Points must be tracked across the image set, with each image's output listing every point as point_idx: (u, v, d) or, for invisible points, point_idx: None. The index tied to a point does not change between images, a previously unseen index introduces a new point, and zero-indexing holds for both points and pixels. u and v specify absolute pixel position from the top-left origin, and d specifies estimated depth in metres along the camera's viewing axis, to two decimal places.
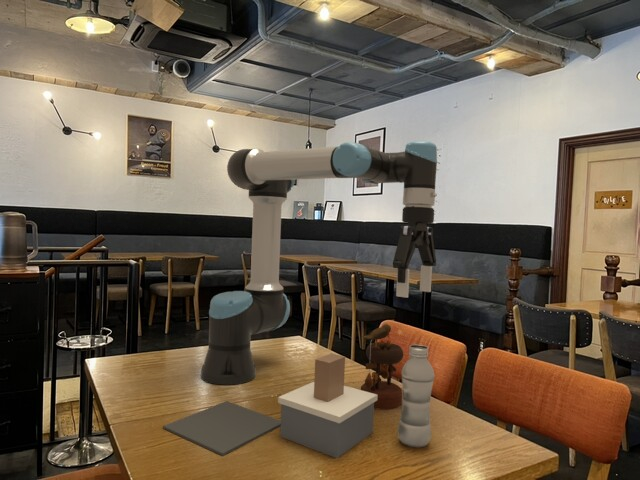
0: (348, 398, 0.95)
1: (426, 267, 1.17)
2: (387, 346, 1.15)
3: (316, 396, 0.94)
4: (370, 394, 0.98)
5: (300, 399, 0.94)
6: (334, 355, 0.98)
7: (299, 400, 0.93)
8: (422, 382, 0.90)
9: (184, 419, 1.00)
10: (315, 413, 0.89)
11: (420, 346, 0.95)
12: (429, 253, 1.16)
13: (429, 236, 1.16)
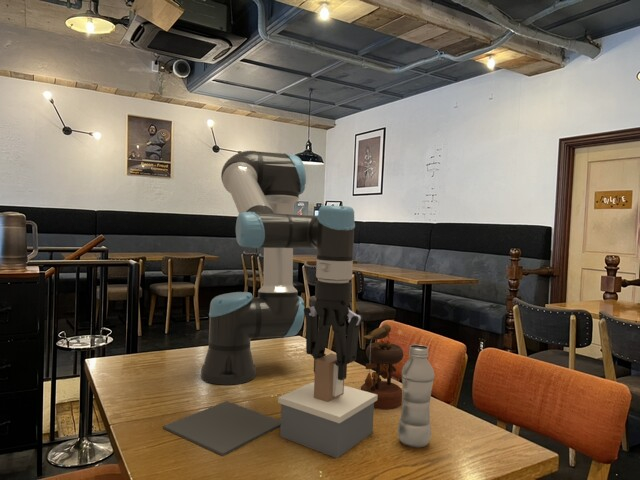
0: (348, 398, 0.95)
1: None
2: (387, 346, 1.15)
3: (316, 396, 0.94)
4: (370, 394, 0.98)
5: (300, 399, 0.94)
6: (334, 355, 0.98)
7: (299, 400, 0.93)
8: (422, 382, 0.90)
9: (184, 419, 1.00)
10: (315, 413, 0.89)
11: (420, 346, 0.95)
12: (337, 344, 0.94)
13: None
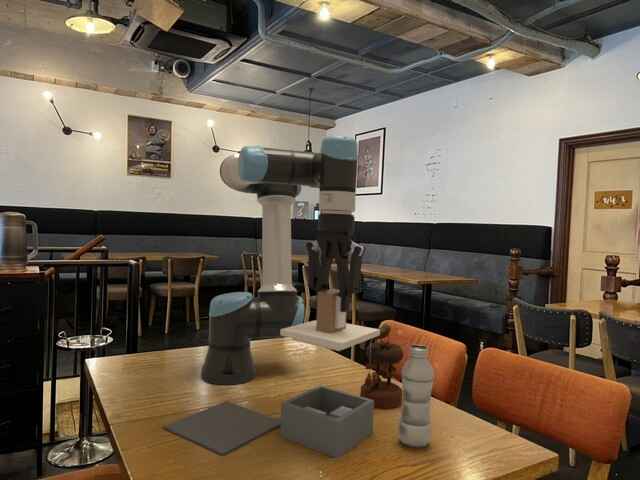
0: (350, 331, 0.95)
1: None
2: (387, 346, 1.15)
3: (318, 328, 0.94)
4: (372, 329, 0.98)
5: (302, 331, 0.94)
6: (337, 290, 0.98)
7: (301, 332, 0.93)
8: (422, 382, 0.90)
9: (184, 419, 1.00)
10: (317, 342, 0.89)
11: (420, 346, 0.95)
12: (340, 276, 0.93)
13: None
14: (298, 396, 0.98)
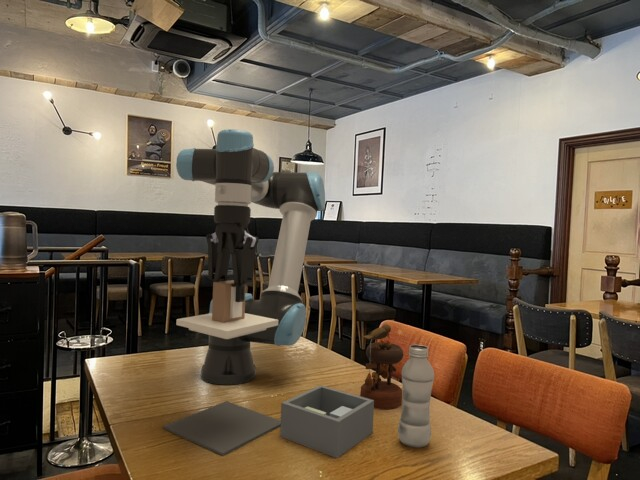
0: (246, 321, 0.97)
1: None
2: (387, 346, 1.15)
3: (214, 318, 0.96)
4: (271, 319, 0.99)
5: (197, 320, 0.95)
6: None
7: (195, 321, 0.94)
8: (422, 382, 0.90)
9: (184, 419, 1.00)
10: (207, 330, 0.90)
11: (420, 346, 0.95)
12: (234, 266, 0.95)
13: None
14: (298, 396, 0.98)
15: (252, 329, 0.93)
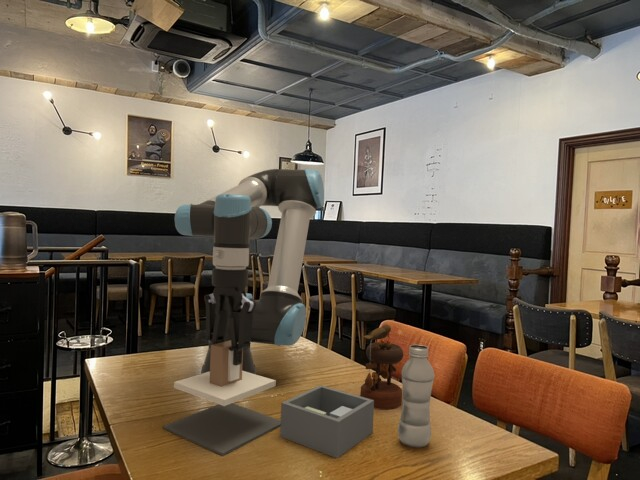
0: (244, 383, 0.97)
1: None
2: (387, 346, 1.15)
3: (211, 381, 0.96)
4: (268, 380, 1.00)
5: (195, 384, 0.95)
6: None
7: (193, 385, 0.94)
8: (422, 382, 0.90)
9: (184, 419, 1.00)
10: (204, 397, 0.91)
11: (420, 346, 0.95)
12: (232, 330, 0.95)
13: None
14: (298, 396, 0.98)
15: (249, 394, 0.93)
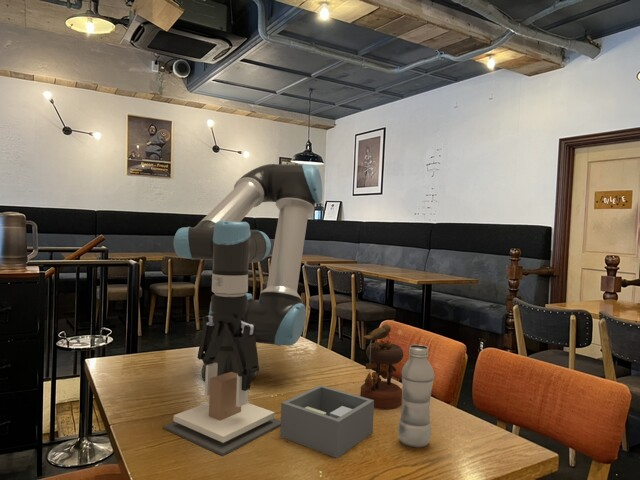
0: (243, 416, 0.97)
1: None
2: (387, 346, 1.15)
3: (211, 414, 0.96)
4: (267, 412, 1.00)
5: (194, 417, 0.96)
6: (232, 374, 1.00)
7: (192, 419, 0.95)
8: (422, 382, 0.90)
9: None
10: (203, 432, 0.91)
11: (420, 346, 0.95)
12: (237, 356, 0.95)
13: None
14: (298, 396, 0.98)
15: (248, 428, 0.94)
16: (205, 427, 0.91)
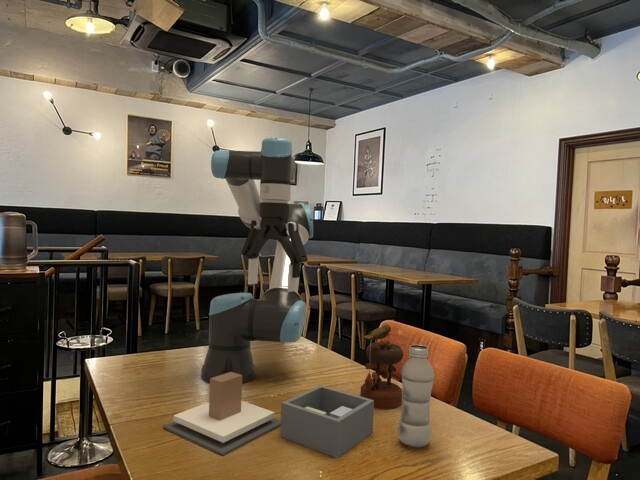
0: (243, 416, 0.97)
1: None
2: (387, 346, 1.15)
3: (211, 414, 0.96)
4: (267, 412, 1.00)
5: (194, 417, 0.96)
6: (232, 374, 1.00)
7: (192, 419, 0.95)
8: (422, 382, 0.90)
9: None
10: (203, 432, 0.91)
11: (420, 346, 0.95)
12: (286, 249, 1.10)
13: None
14: (298, 396, 0.98)
15: (248, 428, 0.94)
16: (205, 427, 0.91)
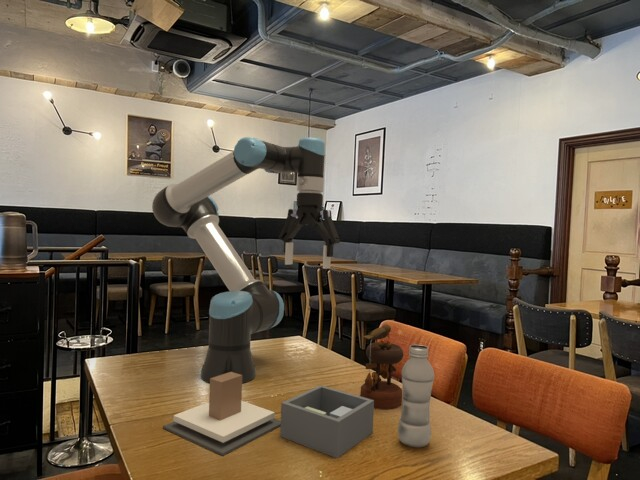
0: (243, 416, 0.97)
1: None
2: (387, 346, 1.15)
3: (211, 414, 0.96)
4: (267, 412, 1.00)
5: (194, 417, 0.96)
6: (232, 374, 1.00)
7: (192, 419, 0.95)
8: (422, 382, 0.90)
9: None
10: (203, 432, 0.91)
11: (420, 346, 0.95)
12: (321, 233, 1.29)
13: None
14: (298, 396, 0.98)
15: (248, 428, 0.94)
16: (205, 427, 0.91)
